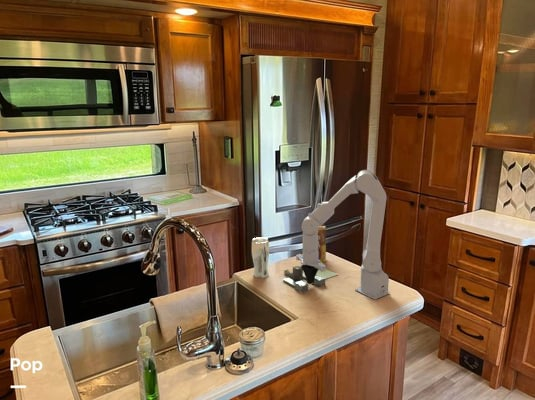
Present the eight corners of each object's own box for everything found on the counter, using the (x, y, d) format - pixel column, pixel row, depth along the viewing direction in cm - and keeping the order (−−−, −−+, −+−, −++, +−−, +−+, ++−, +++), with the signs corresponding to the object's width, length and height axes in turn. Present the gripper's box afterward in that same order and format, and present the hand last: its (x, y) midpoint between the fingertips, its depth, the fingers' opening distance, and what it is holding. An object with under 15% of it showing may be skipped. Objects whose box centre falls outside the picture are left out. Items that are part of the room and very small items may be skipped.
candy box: (325, 258, 179) (325, 225, 175) (325, 262, 174) (326, 228, 171) (305, 258, 179) (305, 225, 176) (305, 261, 175) (305, 228, 172)
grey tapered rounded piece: (305, 280, 157) (305, 268, 156) (297, 283, 155) (296, 271, 153) (289, 272, 165) (289, 260, 164) (281, 274, 162) (281, 263, 161)
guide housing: (325, 284, 153) (325, 278, 152) (301, 292, 146) (301, 286, 146) (305, 274, 162) (305, 268, 162) (282, 281, 156) (282, 275, 156)
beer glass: (249, 275, 163) (247, 240, 159) (262, 270, 167) (261, 236, 164) (259, 280, 158) (258, 244, 154) (273, 275, 162) (272, 240, 158)
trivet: (337, 275, 161) (337, 274, 161) (324, 279, 157) (324, 278, 157) (324, 268, 167) (324, 268, 167) (311, 273, 163) (311, 272, 163)
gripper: (289, 245, 151) (290, 279, 155) (315, 257, 140) (315, 293, 143) (304, 241, 155) (304, 274, 158) (330, 252, 144) (329, 287, 147)
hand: (310, 283), depth 151 cm, fingers closed
